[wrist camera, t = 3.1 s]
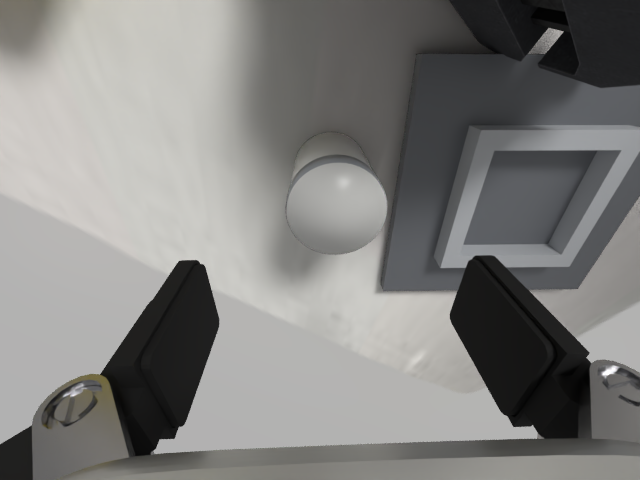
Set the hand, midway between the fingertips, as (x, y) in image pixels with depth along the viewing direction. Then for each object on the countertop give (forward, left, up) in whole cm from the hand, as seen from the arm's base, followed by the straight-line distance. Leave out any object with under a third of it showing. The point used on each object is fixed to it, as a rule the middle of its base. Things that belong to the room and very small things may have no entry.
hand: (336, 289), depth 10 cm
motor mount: (-14, +2, -12) cm, 19 cm away
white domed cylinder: (0, 0, -12) cm, 12 cm away
